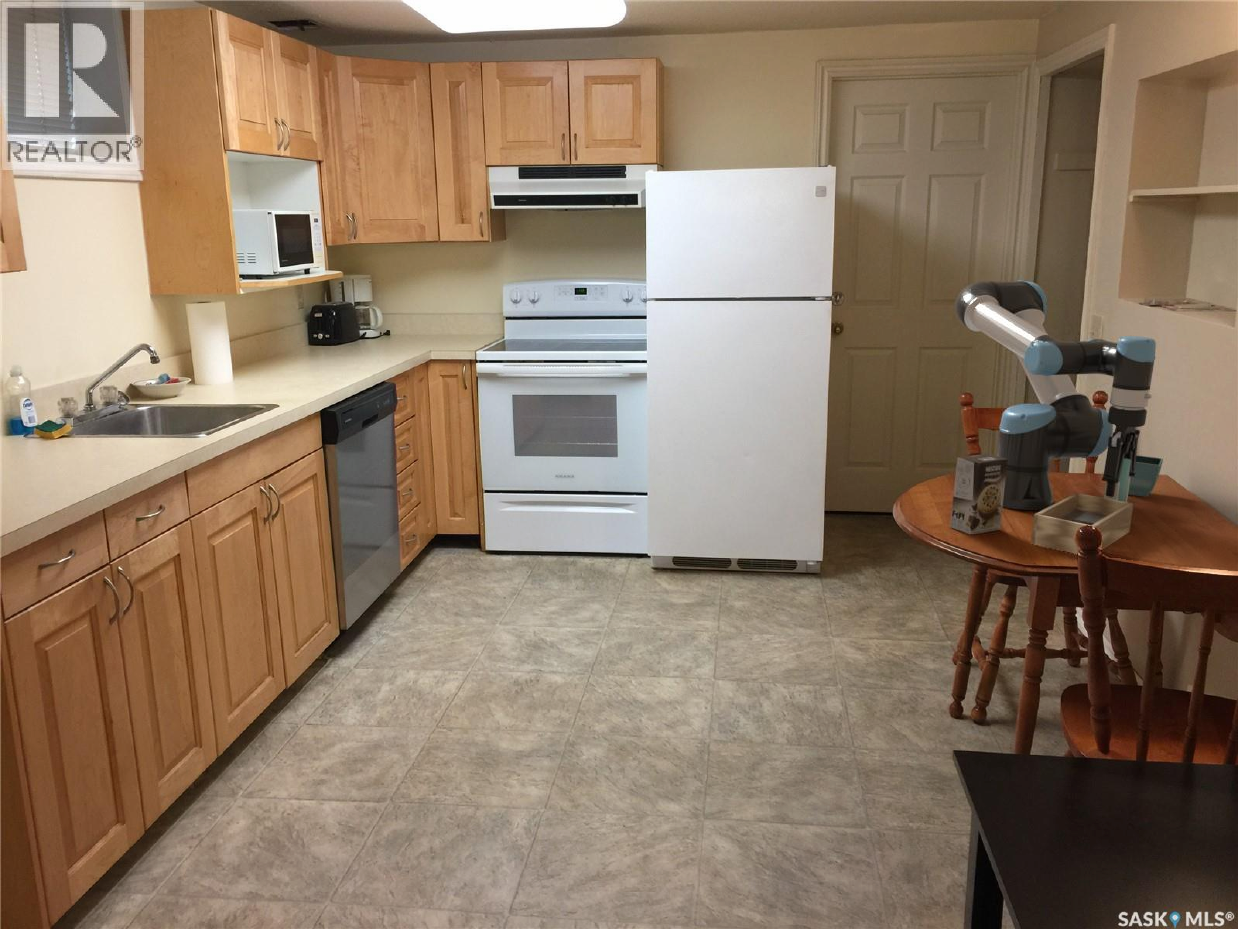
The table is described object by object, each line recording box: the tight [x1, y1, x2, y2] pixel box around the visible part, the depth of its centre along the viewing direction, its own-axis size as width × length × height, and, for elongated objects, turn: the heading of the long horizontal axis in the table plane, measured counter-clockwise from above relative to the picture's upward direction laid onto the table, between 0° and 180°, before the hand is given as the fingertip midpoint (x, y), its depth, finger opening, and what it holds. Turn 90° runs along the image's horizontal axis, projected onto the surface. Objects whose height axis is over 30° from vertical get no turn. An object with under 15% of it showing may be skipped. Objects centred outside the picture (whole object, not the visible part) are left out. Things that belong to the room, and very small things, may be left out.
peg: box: [1110, 458, 1131, 502], centre depth 224 cm, size 4×4×14 cm
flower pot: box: [1128, 454, 1164, 498], centre depth 246 cm, size 9×9×9 cm
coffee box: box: [949, 453, 1008, 535], centre depth 215 cm, size 9×6×16 cm
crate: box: [1030, 492, 1134, 556], centre depth 211 cm, size 12×24×6 cm, turn 136°
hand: (1114, 506), depth 225 cm, fingers open, 6 cm apart
